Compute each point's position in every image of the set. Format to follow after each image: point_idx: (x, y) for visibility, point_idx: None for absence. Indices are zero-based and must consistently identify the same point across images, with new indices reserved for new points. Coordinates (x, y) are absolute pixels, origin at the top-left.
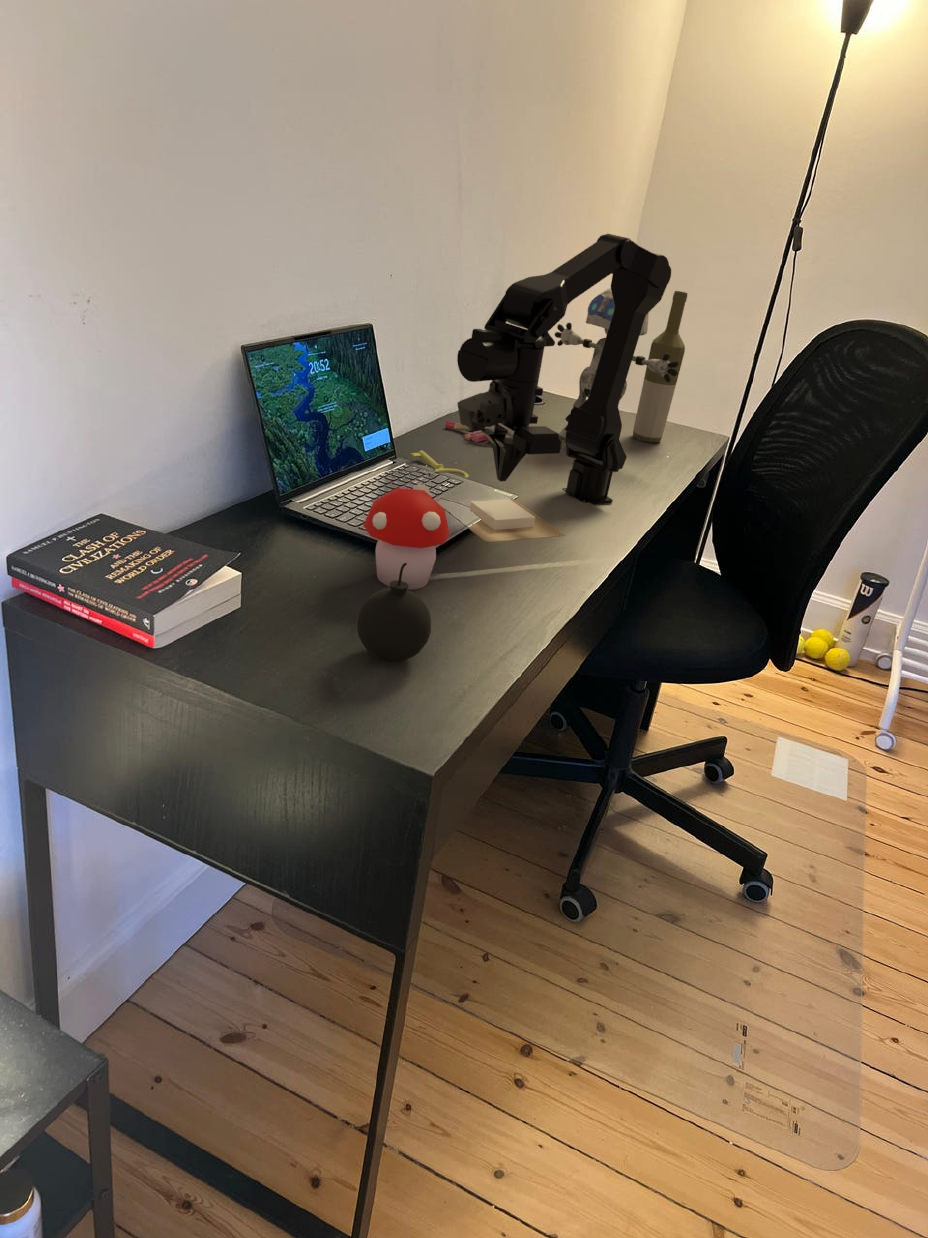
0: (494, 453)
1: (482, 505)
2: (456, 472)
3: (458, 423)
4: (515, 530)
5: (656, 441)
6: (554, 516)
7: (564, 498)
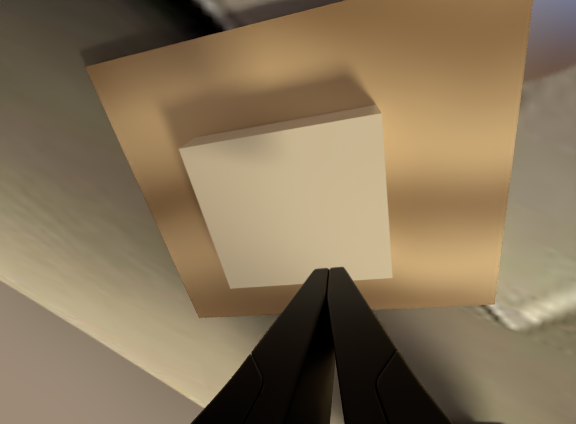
0: (390, 378)
1: (329, 151)
2: None
3: None
4: None
5: None
6: None
7: (464, 415)
